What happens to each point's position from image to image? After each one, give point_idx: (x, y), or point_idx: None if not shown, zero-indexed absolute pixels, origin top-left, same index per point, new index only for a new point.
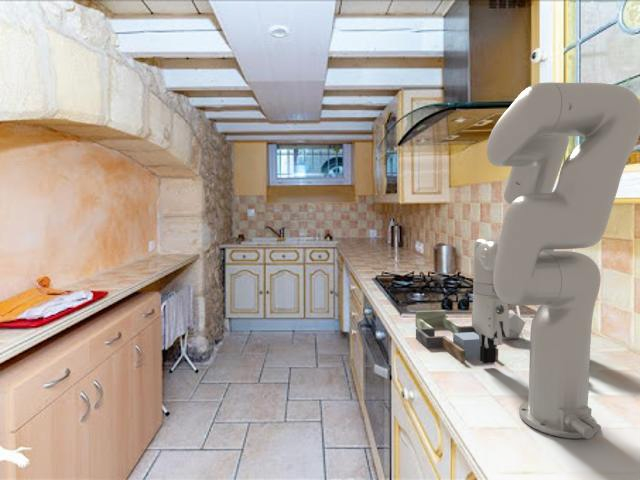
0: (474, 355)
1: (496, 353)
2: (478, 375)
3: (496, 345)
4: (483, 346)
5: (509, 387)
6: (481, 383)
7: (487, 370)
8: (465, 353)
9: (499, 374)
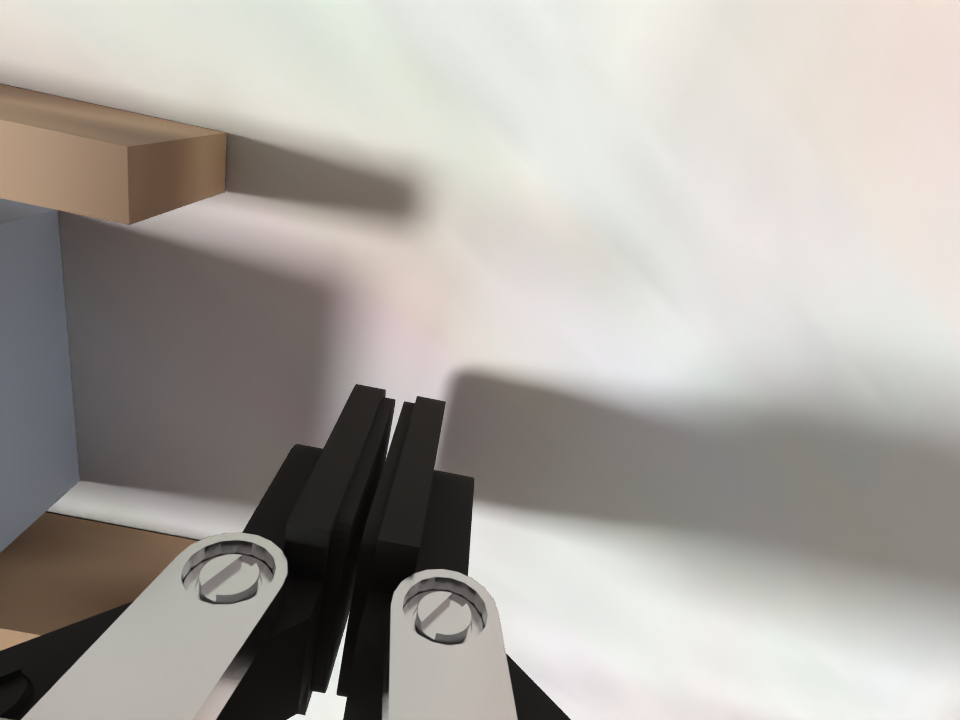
0: (53, 366)
1: (174, 174)
2: (552, 628)
3: (546, 696)
4: (308, 677)
5: (902, 575)
6: (701, 703)
7: (481, 484)
8: (40, 494)
9: (624, 449)
